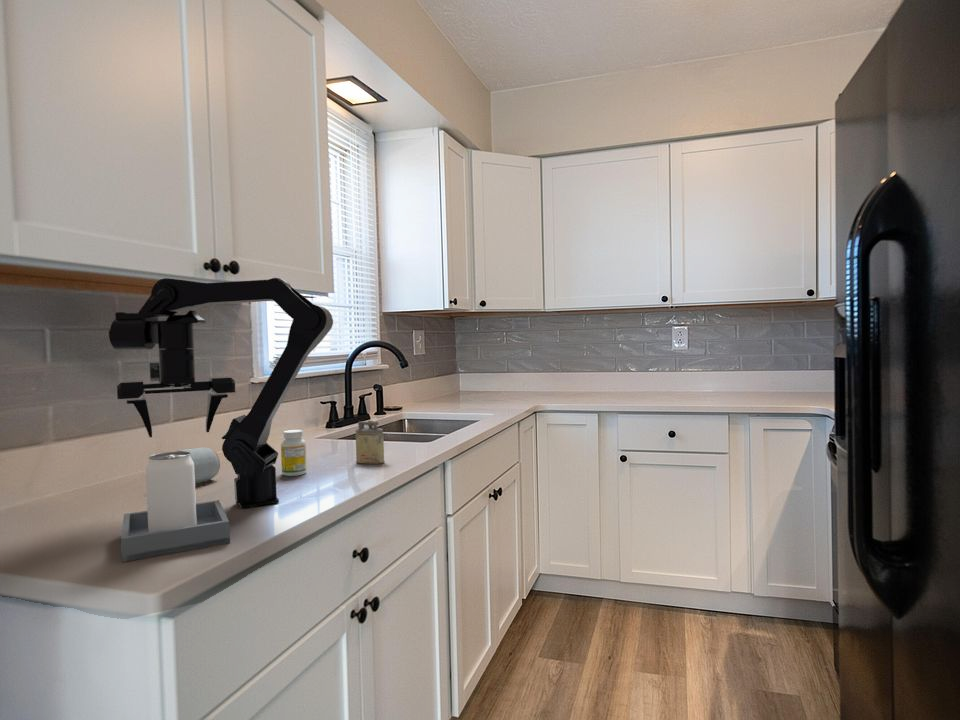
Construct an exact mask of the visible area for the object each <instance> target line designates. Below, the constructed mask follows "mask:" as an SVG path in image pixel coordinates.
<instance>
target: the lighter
mask: <svg viewBox="0 0 960 720" xmlns="http://www.w3.org/2000/svg"><path fill="white" fill-rule="evenodd" d="M357 424H358V428H356V429H355V456H356V457H355V459H356V460H355V463H357V464H365V465H367V464H375V465H377V464H382V463H385V449H384V448H385V444H384V439H385V438H384V429H383V428H379V427H377V426H378V425H379V421H374V420H367V421H363V420H362V421H358V422H357ZM366 425H367V426H368V427H365V426H366Z"/></svg>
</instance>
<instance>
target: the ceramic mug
mask: <svg viewBox="0 0 960 720" xmlns="http://www.w3.org/2000/svg"><path fill="white" fill-rule="evenodd" d="M180 451H182V452H190V453H191V454H190V457H191V459H192V460H193V462H194V473H195V485H196V484H199V483H204V482H208V481H209V480H212V479H214V478H215V477H216V476H217V475H218V474H219V471H220V468H221V460H220V456H219V455H218V453H217V452H216V450H214V449H213V448H211V447H197V448H189V449H179V450H176V451H174V452H180Z"/></svg>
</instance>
